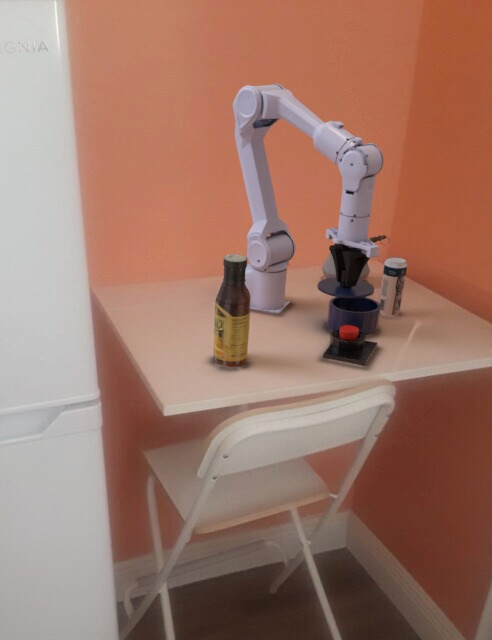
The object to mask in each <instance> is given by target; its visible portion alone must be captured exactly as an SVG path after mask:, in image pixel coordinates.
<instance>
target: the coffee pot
mask: <svg viewBox="0 0 492 640" xmlns="http://www.w3.org/2000/svg"><path fill="white" fill-rule="evenodd" d="M336 228H337V229H338V226H337V227H336ZM368 238H369V239H370V240H371V241H372V242H373V243H374V244H375V243H377V242H380V244H381V245H382V246H387V245H388V243H390V241H391V240H390V237H388V236H387V235H385V234H383V235H378V236H372V237H368ZM385 239H387V240H388V243H386V244H384V243H383V242H382V241H383V240H385ZM335 244H336V243H334V245H335ZM321 270H322V273H323V276H324V277H325V279H328V278H336V270H335V264H334V260H333V257H332V254H331V252H330V251H329V254H328V256H327V258H326V259H325V261H324V263H323V264H322V266H321ZM370 272H371V270H370V266H369V263H368V262H367V263H366V265H365V266H364V268H363V270H362V272H361V274H360V277H359V279H358V280H362V281H364V280H366V279H367V278H368V276H369V275H370Z"/></svg>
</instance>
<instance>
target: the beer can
mask: <svg viewBox="0 0 492 640" xmlns="http://www.w3.org/2000/svg"><path fill="white" fill-rule="evenodd" d="M407 268H408V264H407V260H406V259H404V258H403V257H399V256H398V257H397V256H390V257H387V259H386V260H385V261H384V265H383V271H382V278H381V284H380V291H379V298H378V303H379V304H380V306H381V310H380V315H383V316H387V317H394V316H398V315H400V310H401V304H402V299H403V294H404V293H403V292H404V288H405V281H406V276H407V275H406V274H407Z"/></svg>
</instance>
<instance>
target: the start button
mask: <svg viewBox="0 0 492 640" xmlns="http://www.w3.org/2000/svg"><path fill="white" fill-rule="evenodd" d="M358 333H359V329H358V328H357V327H355V326H351V325H344V326H341V327H340V332H339V337H341V338H343V339H349V340H352V339H358Z"/></svg>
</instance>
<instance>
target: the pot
mask: <svg viewBox="0 0 492 640" xmlns="http://www.w3.org/2000/svg"><path fill="white" fill-rule="evenodd" d="M380 310H381V306H380V304H379V301H377V300H375V299H373V298H370V297H363V298H340V297H334V296H333V297H332V298H331V299H330V300H329V302H328V309H327V319H326V326H327V328H328V329H329V330H330V331H332V332H333V331H334V330H338V329H340V327H341V326H344V325H351V326H355V327H357V328H358V329H359V331H360V332H362V333H364V334H365V336H371V335H372V334H375V333H376V332H377V331H378V329H379V324H380V323H379V321H380V316H381V314H380Z"/></svg>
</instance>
